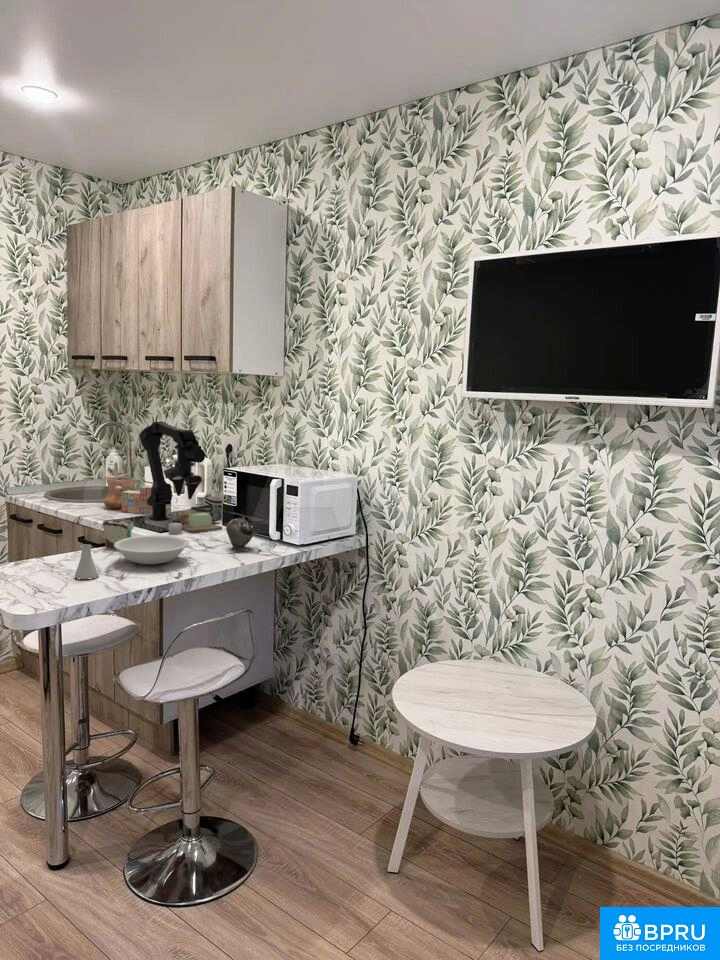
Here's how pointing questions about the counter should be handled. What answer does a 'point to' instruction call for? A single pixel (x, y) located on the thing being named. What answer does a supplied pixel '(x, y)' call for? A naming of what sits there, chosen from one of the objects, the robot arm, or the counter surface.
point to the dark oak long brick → (183, 516)
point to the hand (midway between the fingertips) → (184, 497)
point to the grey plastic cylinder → (175, 528)
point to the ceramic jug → (117, 490)
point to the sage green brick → (199, 520)
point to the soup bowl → (151, 548)
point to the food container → (116, 531)
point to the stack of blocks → (139, 501)
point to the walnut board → (202, 529)
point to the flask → (86, 564)
